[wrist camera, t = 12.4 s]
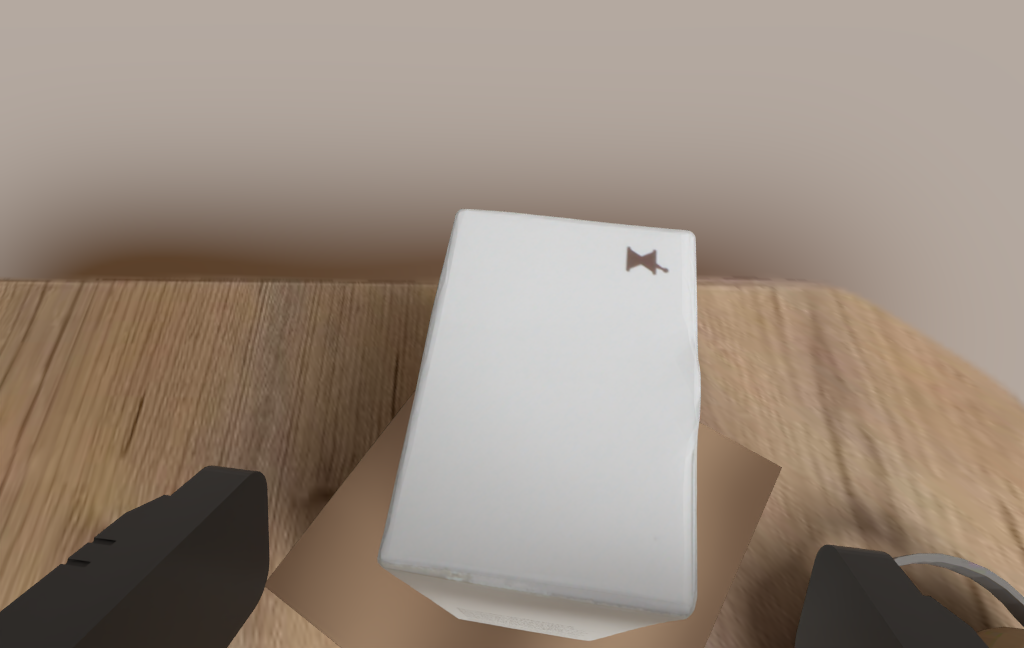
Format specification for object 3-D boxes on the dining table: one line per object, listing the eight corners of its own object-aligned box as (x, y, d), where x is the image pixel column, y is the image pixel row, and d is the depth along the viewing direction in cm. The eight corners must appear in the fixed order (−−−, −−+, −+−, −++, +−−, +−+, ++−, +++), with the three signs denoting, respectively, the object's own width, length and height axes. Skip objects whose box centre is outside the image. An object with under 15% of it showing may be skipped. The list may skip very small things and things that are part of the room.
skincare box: (483, 430, 21) (454, 193, 10) (607, 447, 21) (706, 221, 10) (449, 626, 18) (362, 567, 7) (594, 649, 18) (715, 622, 7)
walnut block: (320, 603, 24) (263, 585, 19) (490, 370, 29) (483, 303, 23) (587, 815, 20) (610, 865, 15) (728, 509, 25) (781, 467, 20)
